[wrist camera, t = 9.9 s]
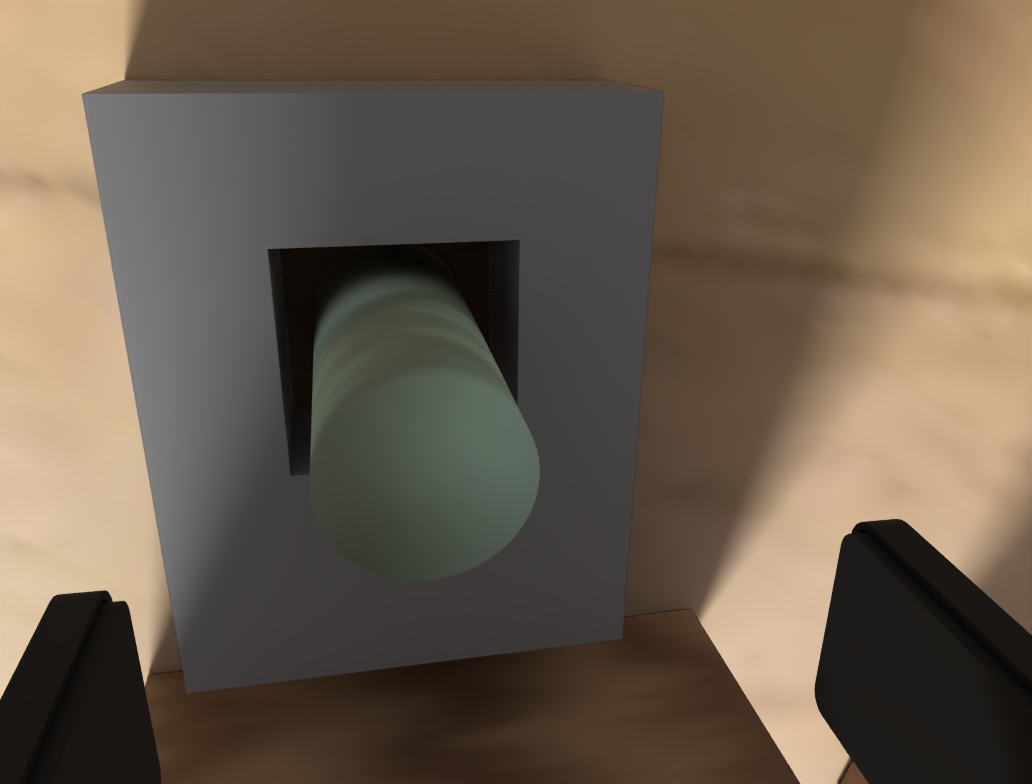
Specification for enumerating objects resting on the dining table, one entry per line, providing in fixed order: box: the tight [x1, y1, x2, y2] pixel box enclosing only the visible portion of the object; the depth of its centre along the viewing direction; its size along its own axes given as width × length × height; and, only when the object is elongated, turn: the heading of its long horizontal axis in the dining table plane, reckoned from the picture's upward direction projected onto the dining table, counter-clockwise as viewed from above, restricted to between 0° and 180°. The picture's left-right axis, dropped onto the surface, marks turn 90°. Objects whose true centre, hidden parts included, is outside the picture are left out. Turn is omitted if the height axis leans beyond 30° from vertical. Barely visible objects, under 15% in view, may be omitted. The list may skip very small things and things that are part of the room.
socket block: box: [82, 80, 663, 694], centre depth 23 cm, size 12×15×4 cm
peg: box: [310, 244, 540, 581], centre depth 20 cm, size 4×4×10 cm
